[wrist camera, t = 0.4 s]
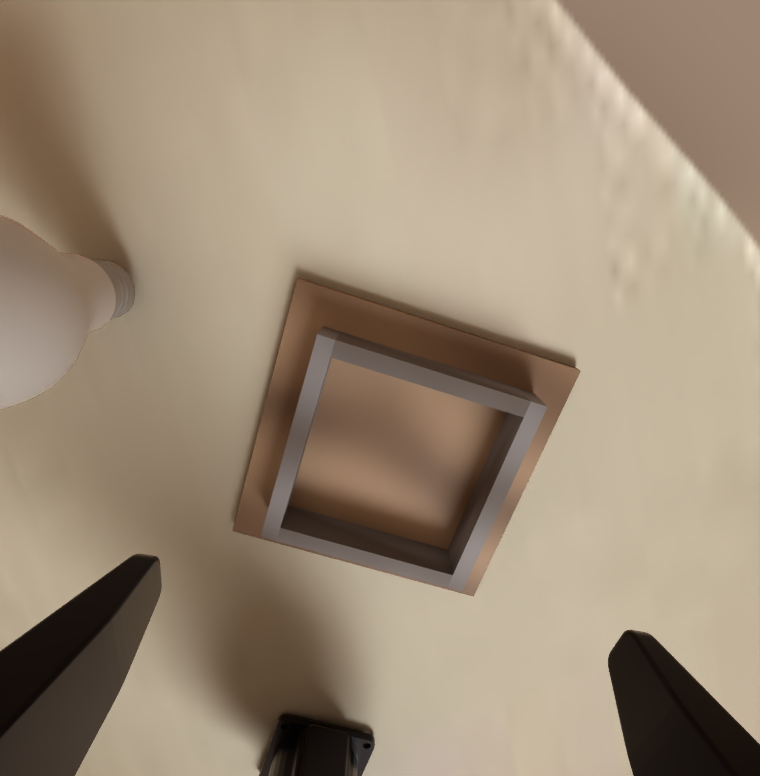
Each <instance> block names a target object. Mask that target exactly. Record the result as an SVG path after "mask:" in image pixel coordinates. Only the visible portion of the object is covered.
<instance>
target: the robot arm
mask: <svg viewBox="0 0 760 776" xmlns="http://www.w3.org/2000/svg"><path fill="white" fill-rule="evenodd" d="M160 593H161V571H160V561H159V559H158V557H156V556H152V555H145V554H135V555H133V556H131V557H130V558H128V559H127V560H125V561H124V562H123V563H121V564H120V565H119V566H117V567H116V568H114V569H113V570H112V571H110V572H109V573H108V574H106V575H105V576H103V577H102V578H101V579H99V580H98V581H96V582H95V583H94V584H92V585H91V586H90V587H88V588H87V589H85V590H84V591H83V592H81V593H80V594H79V595H77V596H76V597H74V598H73V599H72V600H70V601H69V602H67V603H66V604H65V605H63V606H62V607H61V608H59V609H58V610H56V611H55V612H54V613H52V614H51V615H50V616H48V617H47V618H45V619H44V620H43V621H41V622H40V623H38V624H37V625H36V626H34V627H33V628H32V629H30V630H29V631H27V632H26V633H25V634H23V635H22V636H21V637H19V638H18V639H16V640H15V641H14V642H12V643H11V644H9V645H8V646H7V647H5V648H4V649H3V650H1V651H0V776H75V774H76V772H77V770H78V769H79V767H80V765H81V763H82V761H83V759H84V757H85V755H86V754H87V752H88V750H89V748H90V746H91V744H92V742H93V740H94V739H95V737H96V735H97V733H98V731H99V729H100V727H101V725H102V724H103V722H104V720H105V718H106V716H107V714H108V712H109V710H110V709H111V707H112V705H113V703H114V701H115V699H116V697H117V695H118V693H119V691H120V689H121V687H122V685H123V683H124V680H125V678H126V676H127V674H128V671H129V669H130V667H131V664H132V662H133V659H134V657H135V655H136V652H137V650H138V647H139V645H140V642H141V640H142V638H143V635H144V633H145V630H146V628H147V626H148V623H149V621H150V618H151V616H152V614H153V611H154V609H155V606H156V604H157V602H158V599H159V596H160ZM608 667H609V672H610V677H611V682H612V686H613V691H614V695H615V700H616V705H617V709H618V714H619V718H620V723H621V728H622V732H623V737H624V741H625V746H626V750H627V754H628V758H629V761H630V765H631V768H632V772H633V775H634V776H760V744H759V743H758V742H757V741H756V740H755V739H754V738H753V737H752V736H751V735H750V734H749V733H748V732H747V731H746V730H745V729H744V728H743V727H742V726H741V725H740V724H739V723H738V722H737V721H736V720H735V719H734V718H733V717H732V716H731V715H730V714H729V713H728V712H727V711H726V710H725V709H724V708H723V707H722V706H721V705H720V704H719V703H718V702H717V701H716V700H715V699H714V698H713V697H712V696H711V695H710V694H709V693H708V691H707V690H706V689H705V688H704V687H703V686H702V685H701V684H700V683H699V682H698V681H697V680H696V679H695V678H694V677H693V676H692V675H691V674H690V673H689V672H688V671H687V670H686V669H685V668H684V667H683V666H682V665H681V664H680V663H679V662H678V661H677V660H676V659H675V658H674V657H673V656H672V655H671V654H670V653H669V652H668V651H667V650H666V649H665V648H664V647H663V646H662V645H661V644H660V643H659V642H658V641H657V640H656V639H655V638H654V637H653V636H652V635H650V634H648V633H646V632H641V631H634V630H627V631H625V632H624V633H623V634H622V636H621V637H620V639H619V640H618V642H617V643H616V645H615V646H614V648H613V649H612V651H611V652H610V654H609V657H608ZM374 745H375V739H374V737H373V736H372V735H370V734H366V733H362V732H358V731H353V730H349V729H345V728H341V727H337V726H333V725H328V724H324V723H320V722H316V721H312V720H307V719H303V718H299V717H295V716H291V715H281V716H280V717H279V718H278V721H277V724H276V727H275V730H274V733H273V736H272V739H271V742H270V744H269V747H268V750H267V753H266V756H265V759H264V762H263V765H262V768H261V771H260V773H259V776H362V774H363V771H364V769H365V767H366V765H367V763H368V760H369V758H370V756H371V754H372V751H373V749H374Z"/></svg>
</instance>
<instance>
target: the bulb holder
mask: <svg viewBox="0 0 760 776" xmlns="http://www.w3.org/2000/svg"><path fill="white" fill-rule="evenodd" d="M579 373H580V370H579V369H577V368H575V367H571V366H568V365H565V364H562V363H559V362H556V361H553V360H550V359H547V358H544V357H541V356H538V355H534V354H531V353H528V352H525V351H522V350H519V349H516V348H513V347H510V346H507V345H504V344H501V343H497V342H494V341H491V340H488V339H485V338H482V337H479V336H476V335H473V334H470V333H467V332H464V331H460V330H457V329H454V328H451V327H448V326H445V325H442V324H439V323H436V322H433V321H430V320H427V319H423V318H420V317H417V316H414V315H411V314H408V313H405V312H402V311H399V310H396V309H393V308H390V307H386V306H383V305H380V304H377V303H374V302H371V301H368V300H365V299H362V298H359V297H356V296H353V295H349V294H346V293H343V292H340V291H337V290H334V289H331V288H328V287H325V286H322V285H319V284H316V283H312V282H309V281H306V280H303V279H300V278H298V279H297V282H296V286H295V290H294V294H293V297H292V301H291V305H290V309H289V313H288V317H287V321H286V325H285V329H284V333H283V336H282V340H281V344H280V348H279V352H278V356H277V360H276V364H275V368H274V372H273V375H272V379H271V383H270V387H269V391H268V395H267V399H266V403H265V407H264V411H263V414H262V418H261V422H260V426H259V430H258V434H257V438H256V442H255V446H254V450H253V453H252V457H251V461H250V465H249V469H248V473H247V477H246V481H245V485H244V489H243V492H242V496H241V500H240V504H239V508H238V512H237V516H236V520H235V524H234V527H233V531H235V532H238V533H242V534H246V535H249V536H253V537H257V538H260V539H264V540H268V541H271V542H275V543H279V544H282V545H286V546H290V547H293V548H297V549H301V550H305V551H308V552H312V553H316V554H319V555H323V556H327V557H330V558H334V559H338V560H341V561H345V562H349V563H352V564H356V565H360V566H363V567H367V568H371V569H374V570H378V571H382V572H385V573H389V574H393V575H396V576H400V577H404V578H407V579H411V580H415V581H419V582H422V583H426V584H430V585H433V586H437V587H441V588H444V589H448V590H452V591H455V592H459V593H463V594H466V595H470V596H474V594H475V592H476V590H477V588H478V586H479V584H480V582H481V580H482V578H483V575H484V573H485V571H486V569H487V567H488V565H489V563H490V561H491V559H492V556H493V554H494V552H495V550H496V548H497V546H498V544H499V542H500V540H501V538H502V535H503V533H504V531H505V529H506V527H507V525H508V523H509V521H510V519H511V516H512V514H513V512H514V510H515V508H516V506H517V504H518V502H519V500H520V498H521V495H522V493H523V491H524V489H525V487H526V485H527V483H528V481H529V479H530V476H531V474H532V472H533V470H534V468H535V466H536V464H537V462H538V460H539V458H540V455H541V453H542V451H543V449H544V447H545V445H546V443H547V441H548V439H549V436H550V434H551V432H552V430H553V428H554V426H555V424H556V422H557V420H558V417H559V415H560V413H561V411H562V409H563V407H564V405H565V403H566V401H567V399H568V396H569V394H570V392H571V390H572V388H573V386H574V384H575V382H576V380H577V377H578V375H579Z"/></svg>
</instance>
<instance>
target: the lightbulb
mask: <svg viewBox="0 0 760 776" xmlns="http://www.w3.org/2000/svg"><path fill="white" fill-rule="evenodd" d="M134 299H135V287H134V284H133V281H132V279H131V277H130V276H129V274H128V273H127V272H126V271H125V270H124V269H123V268H122V267H121V266H119V265H118V264H116V263H113V262H111V261H106V260H99V259H88V258H86V257H83V256H81V255H77V254H70V253H60V252H58V251H57V250H56V249H55V248H54V247H52V246H51V245H50V244H49V243H47V242H46V241H45V240H43V239H42V238H41V237H39V236H38V235H36V234H35V233H33V232H32V231H30V230H29V229H27V228H26V227H24V226H23V225H21V224H20V223H18V222H16V221H13V220H11V219H9V218H7V217H5V216H2V215H0V409H3V408H8V407H11V406H14V405H17V404H19V403H22V402H25V401H27V400H29V399H32V398H34V397H36V396H38V395H40V394H41V393H43V392H44V391H46V390H47V389H49V388H50V387H52V386H53V385H54V384H55V383H56V382H57V381H59V380H60V379H61V378H62V377H63V376H64V375H65V374H66V373H67V372H68V371H69V369H70V368H71V367H72V366H73V365H74V363H75V361H76V359H77V357H78V355H79V353H80V351H81V349H82V347H83V345H84V343H85V341H86V337H87V334H88V333H89V332H92V331H94V330H97V329H99V328H101V327H102V326H104V325H105V324H106V323H107V322H108V321H109V320H110V319H113V318H116V317H118V316H121V315H122V314H124V313H126V312H127V311H128V310H129V309H130V308H131V307H132V305H133V303H134Z"/></svg>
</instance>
